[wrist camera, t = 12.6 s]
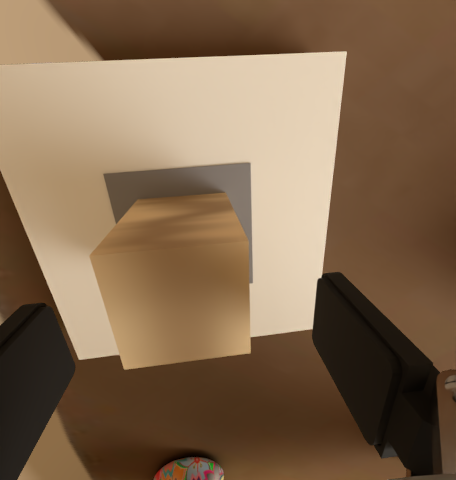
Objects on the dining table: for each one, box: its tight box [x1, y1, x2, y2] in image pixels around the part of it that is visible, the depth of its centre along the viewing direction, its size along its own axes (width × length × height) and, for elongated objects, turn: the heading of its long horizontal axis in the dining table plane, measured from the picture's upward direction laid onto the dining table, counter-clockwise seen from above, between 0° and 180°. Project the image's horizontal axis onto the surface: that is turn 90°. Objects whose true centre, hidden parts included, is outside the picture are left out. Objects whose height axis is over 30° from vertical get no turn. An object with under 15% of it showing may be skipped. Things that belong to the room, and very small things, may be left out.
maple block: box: [89, 193, 251, 370], centre depth 12 cm, size 5×5×7 cm
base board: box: [0, 52, 347, 360], centre depth 17 cm, size 18×18×3 cm
